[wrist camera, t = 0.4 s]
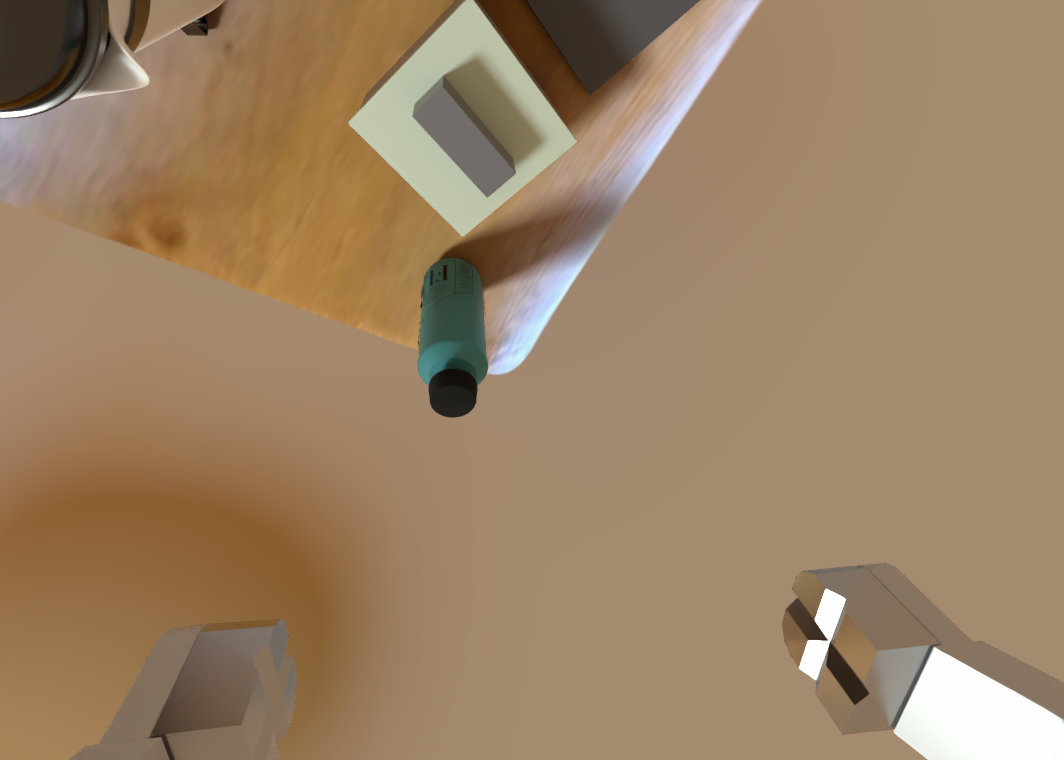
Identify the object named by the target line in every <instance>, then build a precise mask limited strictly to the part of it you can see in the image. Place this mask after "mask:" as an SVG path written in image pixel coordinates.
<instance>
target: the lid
mask: <svg viewBox="0 0 1064 760" xmlns="http://www.w3.org/2000/svg"><path fill="white" fill-rule="evenodd" d="M348 124H349V125H350V126H351V127H352V128H353V129H354V130H355V131H356V132H357V133H358V134H359V135H360V136H361V137H362V138H363V139H365V140H366V141H367V142H368V143H369V144H370V145H371V146H372V147H373V148H374V149H375V150H376V151H377V152H378V153H379V154H380V155H381V156H382V157H383V158H384V159H385V160H386V161H387V162H388V163H389V164H390V165H391V166H392V167H393V168H394V169H395V170H396V171H397V172H398V173H399V174H400V175H401V176H402V177H403V178H404V179H405V180H406V181H407V182H408V183H409V184H410V185H411V186H412V187H413V188H414V189H415V190H416V191H417V192H418V193H419V194H420V195H421V196H422V197H423V198H424V199H425V200H426V201H427V202H428V203H429V204H430V205H431V206H432V207H433V208H434V209H435V210H436V211H437V212H438V213H439V214H440V215H441V216H442V217H443V218H444V219H445V220H446V221H447V222H448V223H449V224H450V225H451V226H452V227H453V228H454V229H455V230H456V231H457V232H458V233H459V234H460V235H461V236H462V237H463V236H464V235H466V234H467V233H468V232H469V231H470V230H472V229H473V228H474V227H475V226H476V225H478V224H479V223H480V222H481V221H482V220H484V219H485V218H486V217H487V216H488V215H490V214H491V213H492V212H493V211H494V210H496V209H497V208H498V207H499V206H500V205H502V204H503V203H504V202H505V201H506V200H508V199H509V198H510V197H511V196H512V195H514V194H515V193H516V192H517V191H518V190H520V189H521V188H522V187H523V186H524V185H526V184H527V183H528V182H529V181H531V180H532V179H533V178H534V177H535V176H537V175H538V174H539V173H540V172H541V171H543V170H544V169H545V168H546V167H547V166H549V165H550V164H551V163H552V162H553V161H555V160H556V159H557V158H558V157H559V156H561V155H562V154H563V153H564V152H565V151H567V150H568V149H569V148H570V147H571V146H573V145H574V144H575V143H576V142H577V140H576V138H575V137H574V136H573V134H572V133H571V131H570V130H569V129H568V127H567V126H566V125H565V123H564V122H563V121H562V119H561V118H560V116H559V115H558V114H557V112H556V111H555V110H554V108H553V107H552V105H551V104H550V103H549V101H548V100H547V99H546V97H545V96H544V95H543V93H542V92H541V90H540V89H539V88H538V86H537V85H536V84H535V82H534V81H533V79H532V78H531V77H530V75H529V74H528V73H527V71H526V70H525V69H524V67H523V66H522V64H521V63H520V62H519V60H518V59H517V58H516V56H515V55H514V53H513V52H512V51H511V49H510V48H509V47H508V45H507V44H506V43H505V41H504V40H503V38H502V37H501V36H500V34H499V33H498V32H497V30H496V29H495V27H494V26H493V25H492V23H491V22H490V21H489V19H488V18H487V17H486V15H485V14H484V12H483V11H482V10H481V8H480V7H479V6H478V4H477V3H476V1H475V0H464V1H463V2H462V3H461V4H460V5H459V6H458V7H457V8H456V9H455V10H454V11H453V12H452V13H451V14H450V15H449V16H448V17H447V18H446V19H445V20H444V22H443V23H442V24H441V25H440V26H439V27H438V28H437V29H436V30H435V31H434V32H433V33H432V34H431V35H430V36H429V37H428V38H427V39H426V40H425V41H424V42H423V43H422V44H421V45H420V46H419V48H418V49H417V50H416V51H415V52H414V53H413V54H412V55H411V56H410V57H409V58H408V59H407V60H406V61H405V62H404V63H403V64H402V65H401V66H400V67H399V68H398V69H397V70H396V71H395V73H394V74H393V75H392V76H391V77H390V78H389V79H388V80H387V81H386V82H385V83H384V84H383V85H382V86H381V87H380V88H379V89H378V90H377V91H376V92H375V93H374V94H373V95H372V96H371V98H370V99H369V100H368V101H367V102H366V103H365V104H364V105H363V106H362V107H361V108H360V109H359V110H358V111H357V112H356V113H355V114H354V115H353V116H352V117H351V118H350V119H349V121H348Z"/></svg>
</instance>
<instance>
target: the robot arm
mask: <svg viewBox="0 0 1064 760" xmlns="http://www.w3.org/2000/svg"><path fill="white" fill-rule="evenodd" d="M792 590H793V591H794V593H795V595H796V596H797V599H795V600H794V602H792V603H791V604H790V605H789V606H788V607H787V608H786V610H785V614H784V618H783V622H782V627H783V634H784V640H785V643H786V646H787V648H788V651H789V653H790V655H791V657H792V658H793V660H794V661H795V663H796V665H797V666H798V668H799V669H800V670H802V671H803V672H805V673H806V674H808V675H809V676H811V677H812V678H814V679H815V680H816V695H817V697H818V698H819V699H820V701H821V703H822V704H823V705H824V707H825V709H826V710H827V711H828V713H829V715H830V716H831V718H832V719H833V721H834V722H835V724H836V725H837V727H838V728H839V730H840V731H841V733H842V734H843V735H844V734H854V733H862V732H871V731H882V730H891V729H895V730H894V733H895V734H896V735H897V736H899V737H900V738H901V739H902V740H904V741H905V742H906V743H907V744H909V745H910V746H911V747H913V748H914V749H915V750H916V751H918V752H919V753H920V754H921V755H923V756H924V757H925V758H927V759H928V760H1064V683H1063V682H1062V681H1060V680H1058V679H1056V678H1054V677H1052V676H1050V675H1048V674H1046V673H1044V672H1042V671H1040V670H1038V669H1036V668H1034V667H1032V666H1030V665H1028V664H1026V663H1024V662H1022V661H1020V660H1018V659H1016V658H1014V657H1012V656H1010V655H1009V654H1007V653H1005V652H1003V651H1001V650H999V649H997V648H995V647H993V646H991V645H989V644H987V643H985V642H983V641H974V642H973V641H972V640H971V639H970V638H969V637H968V636H967V635H966V634H964V632H963V631H961V630H960V629H959V628H958V627H957V626H956V625H955V624H954V623H953V622H952V621H951V620H950V619H949V618H948V617H947V616H946V615H945V614H944V613H943V612H942V611H941V610H940V609H939V608H938V607H937V606H936V605H935V604H933V603H932V602H931V601H930V600H929V599H928V598H927V597H926V596H925V595H924V594H923V593H922V592H921V591H920V590H919V589H918V588H917V587H916V586H915V585H914V584H913V583H912V582H910V580H909V579H908V578H907V577H906V576H904V575H903V574H902V573H901V572H900V571H899V570H898V569H897V568H896V567H894V566H892V565H890V564H888V563H879V564H869V565H858V566H847V567H837V568H829V569H828V568H827V569H818V570H808V571H802V572H801V573H800V574H799V575H798V576H796V578H795V581H794V584H793V587H792ZM288 638H289V635H288V631H287V627H286V624H285V621H284V620H281V619H276V620H259V621H244V622H230V623H214V624H207V625H193V626H178V627H169V628H168V629H167V630H166V631H165V632H163V634H161V635H160V636H159V637H158V639H157V640H156V642H155V644H154V646H153V648H152V650H151V651H150V653H149V655H148V657H147V658H146V660H145V662H144V664H143V666H142V667H141V669H140V671H139V673H138V675H137V676H136V679H135V680H134V682H133V684H132V685H131V687H130V689H129V691H128V693H127V694H126V696H125V698H124V700H123V702H122V703H121V705H120V707H119V709H118V711H117V712H116V714H115V716H114V718H113V720H112V721H111V723H110V725H109V727H108V729H107V730H106V732H105V734H104V736H103V738H102V739H101V741H100V743H99V744H95V745H88V746H85V747H84V748H82V749H81V750H80V751H79V752H78V753H76V754H75V755H74V756H73V757H72V758H70V759H69V760H280V756H279V752H278V747H277V742H278V741H279V740H280V739H281V738H282V737H283V736H284V734H285V733H286V732H287V731H288V730H289V728H290V724H291V719H292V715H293V711H294V704H295V695H296V670H295V664H294V659H293V658H292V657H291V656H289V655H288V654H287V653H285V649H286V645H287V642H288Z"/></svg>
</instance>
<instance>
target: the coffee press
mask: <svg viewBox="0 0 1064 760" xmlns="http://www.w3.org/2000/svg"><path fill="white" fill-rule="evenodd" d="M224 1H225V0H0V118H20V117H27V116H32V115H36V114H40V113H43V112H46V111H49V110H51V109H53V108H55V107H57V106H59V105H61V104H63V103H65V102H66V101H68V100H72V99H77V98H82V97H87V96H93V95H99V94H106V93H114V92H121V91H128V90H133V89H138V88H141V87H144V86H146V85H148V84H149V83H150V82H151V77H150V74H149V72H148V70H147V69H146V67H145V66H144V65H143V63H142V62H141V61H140V60H139V59H138V58H137V57H136V55H135V54H134V53H135V52H136V51H138V50H140V49H142V48H144V47H146V46H148V45H150V44H152V43H154V42H155V41H157V40H159V39H161V38H163V37H165V36H167V35H169V34H171V33H172V32H174V31H176V30H178V29H180V28H181V29H182V30H183V31H184V32H185V33H186V34H187V35H196V36H207V35H208V25H207V21H206V19H205V17H204V15H206V14H208V13H209V12H211V11H213V10H214V9H216V8H217V7H218V6H220V5H221V4H222V3H223V2H224Z"/></svg>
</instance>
